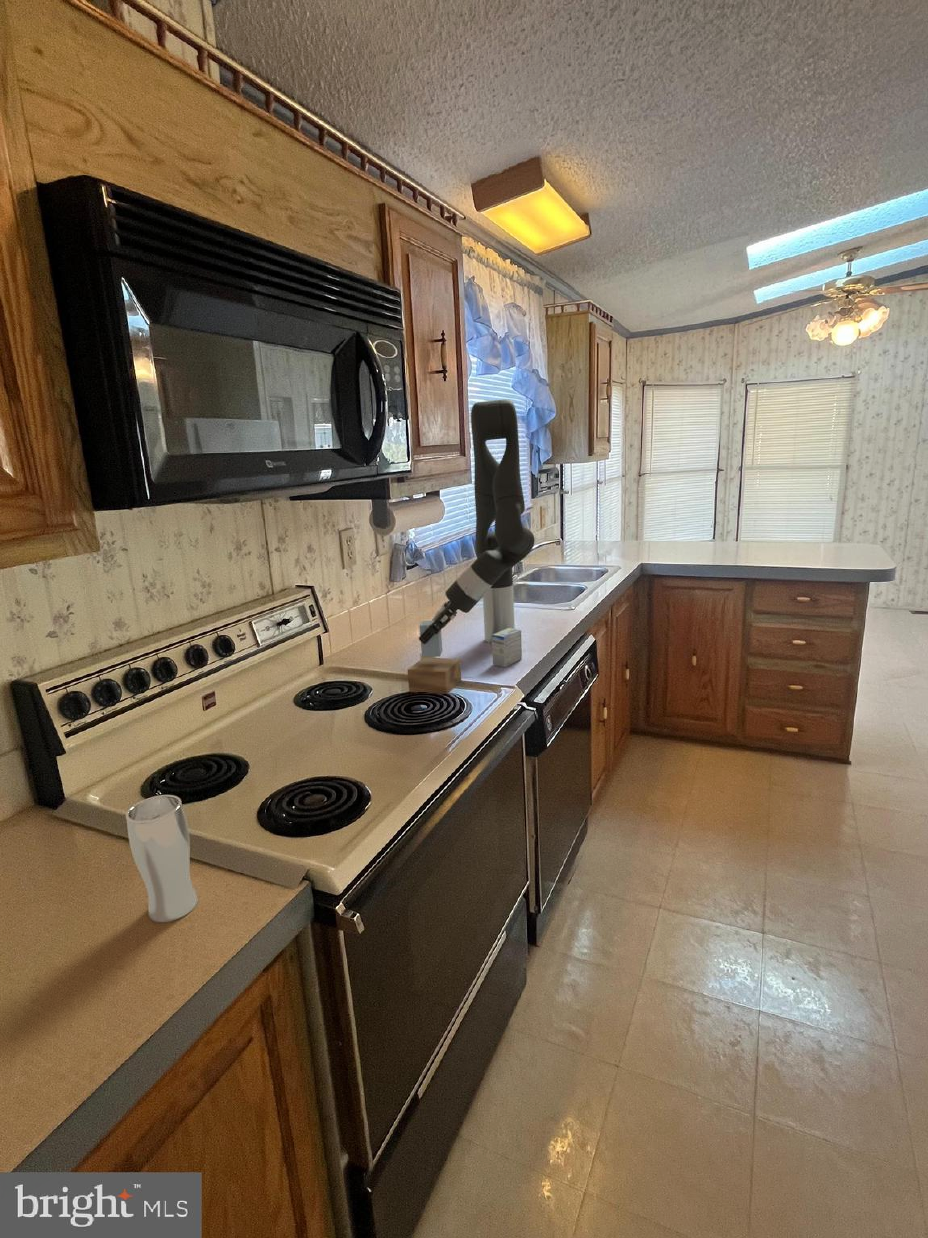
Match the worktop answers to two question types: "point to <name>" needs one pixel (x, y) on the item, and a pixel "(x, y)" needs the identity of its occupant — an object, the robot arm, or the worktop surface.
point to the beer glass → (162, 855)
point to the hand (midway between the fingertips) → (423, 638)
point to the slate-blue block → (431, 642)
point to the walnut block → (434, 675)
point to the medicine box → (506, 647)
